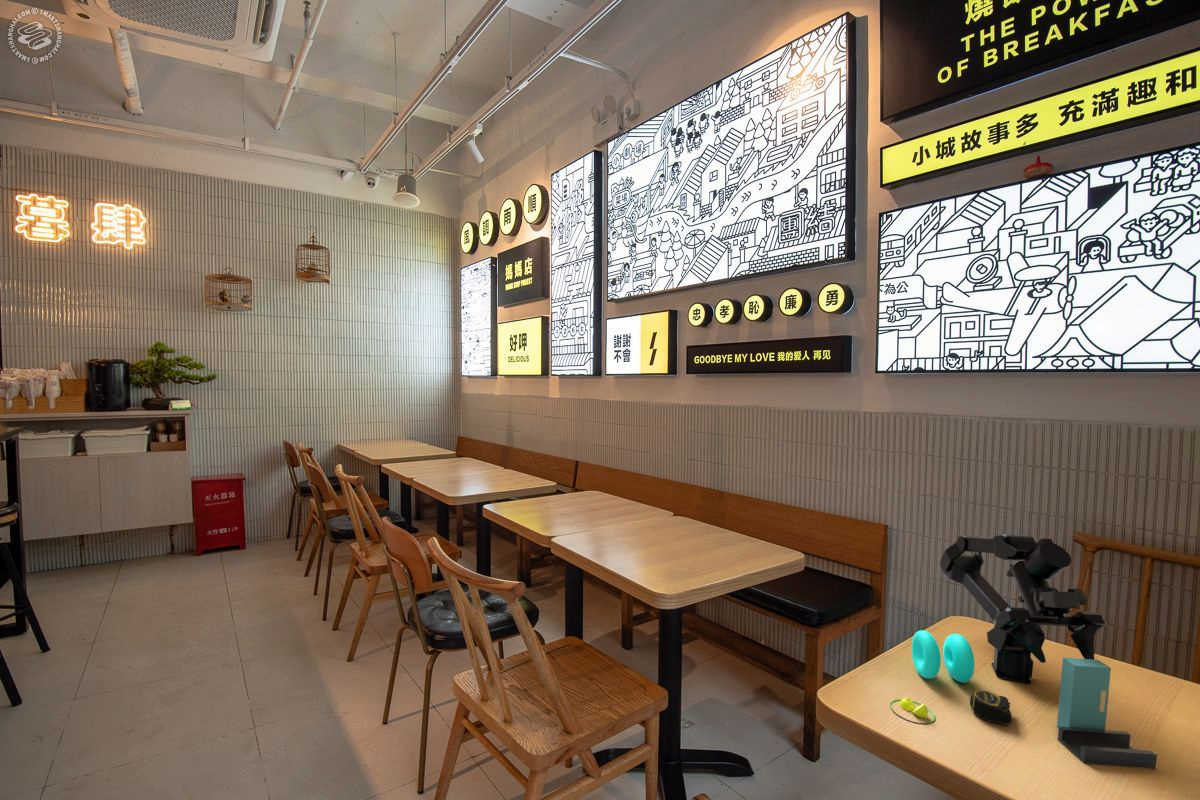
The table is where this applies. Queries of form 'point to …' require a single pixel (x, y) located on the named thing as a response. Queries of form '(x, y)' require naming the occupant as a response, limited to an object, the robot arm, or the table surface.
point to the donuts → (954, 654)
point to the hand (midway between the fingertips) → (1068, 663)
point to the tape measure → (991, 706)
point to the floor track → (1105, 747)
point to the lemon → (909, 706)
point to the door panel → (1083, 694)
